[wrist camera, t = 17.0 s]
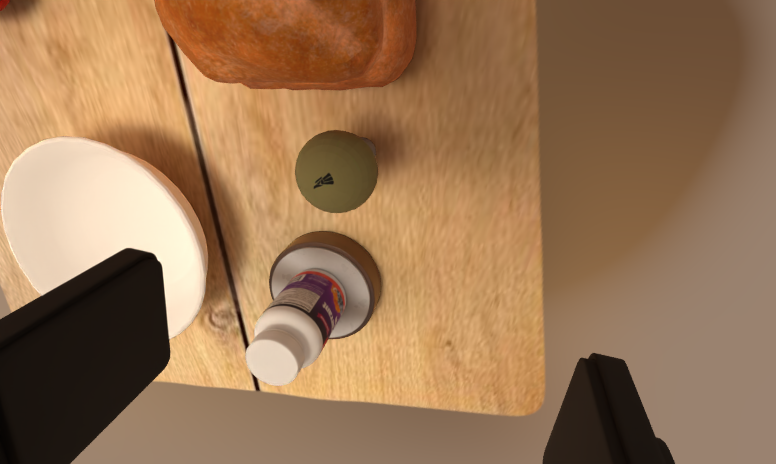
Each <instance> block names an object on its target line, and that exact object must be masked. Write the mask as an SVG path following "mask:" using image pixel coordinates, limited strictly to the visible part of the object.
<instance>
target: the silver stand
mask: <svg viewBox="0 0 776 464" xmlns="http://www.w3.org/2000/svg"><path fill="white" fill-rule="evenodd" d="M307 269H319V270H323V271H326V272H328V273H330V274H331V275H333V276H334V277H335V278H336V279H337V280H338V281H339V282H340V283H341V285H342V286H343V288H344V291H345V294H346V305H345V309H344V311H343V313H342V315H341V317H340V319H339V321H338V322H337V324H336V326H335V328H334V330H333V331H332V333H331V335H330V337H329V339H340V338H345V337H348V336H351V335H353V334H355V333H356V332H358V331H359V330H361V329H362V328H363V327H364V326H365V325H366V324H367V323H368V321H369V319H370V318H371V316H372V314H373V311H374V309H375V307H376V305H377V302H378V300H379V297H380V292H381V280H380V275H379V272H378V269H377V266H376V264H375V262H374V261H373V259H372V258H371V256H370V255H369V254H368V253H367V251H366V250H365V249H364V248H363V247H361V246H360V245H359V244H358V243H356V242H355V241H353V240H352V239H350V238H348V237H346V236H343V235H341V234H337V233H333V232H325V231H319V232H312V233H308V234H305V235H303V236H300V237H299V238H297V239H296V240H294V241H293V242H292V243H291V244H290V245H289V246H288V247H287V248H286V249H285V250H284V251H283V252H282V253H281V254H280V255H279V256H278V257H277V259H276V260H275V262H274V264H273V266H272V268H271V272H270V279H269V285H270V292H271V296H272V299H273V301H274V299H275V298H276V297H277V296H278V295H279V293H280V292H281V291H282V290H283V289H284V288H285V286H286V285H287V284H288V283H289V282H290V280H291V279H292V278H293V277H294V276H295V275H297V274H298V273H299V272H301V271H304V270H307Z"/></svg>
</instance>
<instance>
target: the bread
mask: <svg viewBox="0 0 776 464" xmlns="http://www.w3.org/2000/svg"><path fill="white" fill-rule="evenodd" d="M155 6H156V9H157V12H158V15H159V17H160V20H161V22H162V25H163V27H164V28H165V30H166V31H167V32H168V33H169V35H170V36H171V37H172V38H173V40H174V41H175V42H176V43H177V45H178V46H179V47H180V49H181V50H182V51H183V53H184V54H185V55H186V56H187V57H188V58H189V59H190V61H191V62H192V63H193V64H194V65H195V66H196V67H197V69H198V70H199V71H200V72H201V73H202V74H203V75H204V76H205V77H208V78H210V79H212V80H214V81H216V82H223V83H242V84H243V85H245V86H247V87H249V88H250V89H281V88H286V89H290V90H307V89H321V90H346V89H353V88H361V87H383V86H385V85H387V84H389V83H391V82H392V81H394V80H396V79H398V78H399V76H400V75H401V74H402V72H403V71H404V70H405V68H406V67H407V66H408V64H409V63H410V61H411V60H412V58H413V54H414V49H415V44H416V0H155Z"/></svg>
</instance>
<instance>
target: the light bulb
mask: <svg viewBox="0 0 776 464" xmlns="http://www.w3.org/2000/svg"><path fill="white" fill-rule="evenodd" d="M375 157H376V149H375V146H374V144H373V143H372V142H371V141H370V140H369V139H367V138H364V137H358V136H356V135H355V134H353V133H350V132H346V131H339V130H333V131H327V132H323V133H321V134H318V135H316V136H315V137H313V138H312V139H310V140H309V141H308V142H307V143H306V144H305V146H304V147H303V148H302V150H301V151H300V153H299V156H298V158H297V162H296V169H295V175H296V181H297V184H298V187H299V189H300V191H301V193H302V194H303V196H304V197H305V198H306V200H307V201H309V202H310V203H311V204H312V205H313V206H315V207H316V208H318V209H320V210H323V211H326V212H330V213H343V212H348V211H351V210H353V209H356V208H357V207H359V206H361V205H362V204H363V203H364V202H365V201H366V200H367V199H368V198H369V197H370V195H371V194H372V192H373V190H374V188H375V186H376V183H377V177H378V165H377V161H376V158H375Z"/></svg>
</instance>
